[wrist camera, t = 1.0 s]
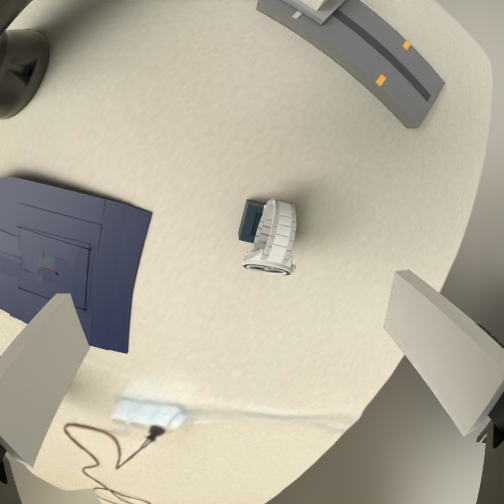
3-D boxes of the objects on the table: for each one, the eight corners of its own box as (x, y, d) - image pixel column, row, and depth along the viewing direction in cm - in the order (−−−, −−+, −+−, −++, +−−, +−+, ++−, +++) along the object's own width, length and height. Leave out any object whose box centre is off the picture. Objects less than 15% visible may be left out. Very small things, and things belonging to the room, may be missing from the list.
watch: (234, 247, 36) (237, 285, 26) (250, 185, 34) (260, 199, 23) (276, 256, 37) (294, 296, 27) (294, 197, 34) (321, 215, 24)
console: (256, 9, 26) (258, -2, 23) (297, -26, 23) (302, -37, 20) (406, 128, 32) (419, 127, 29) (433, 85, 30) (445, 83, 27)
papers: (-9, 166, 27) (-22, 169, 24) (155, 206, 36) (151, 212, 32) (-8, 297, 34) (-17, 307, 31) (129, 344, 43) (126, 358, 40)
